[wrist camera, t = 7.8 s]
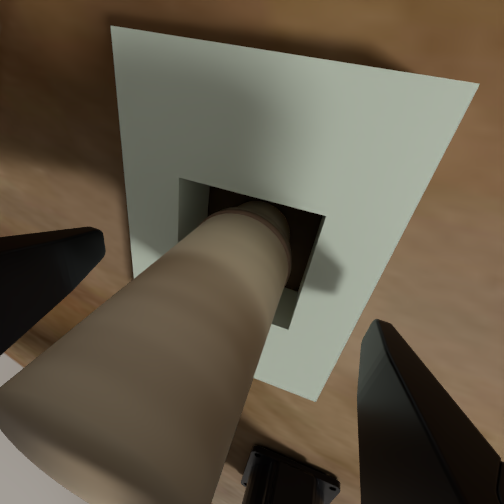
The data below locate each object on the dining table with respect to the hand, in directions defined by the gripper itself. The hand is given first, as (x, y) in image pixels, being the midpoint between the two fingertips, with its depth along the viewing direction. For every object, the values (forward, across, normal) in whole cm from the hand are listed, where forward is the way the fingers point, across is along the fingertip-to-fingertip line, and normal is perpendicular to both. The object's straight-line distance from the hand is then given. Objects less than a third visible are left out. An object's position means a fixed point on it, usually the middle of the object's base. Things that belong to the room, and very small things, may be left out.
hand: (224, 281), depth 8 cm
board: (+4, 0, 0) cm, 4 cm away
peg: (+4, 0, 0) cm, 4 cm away
